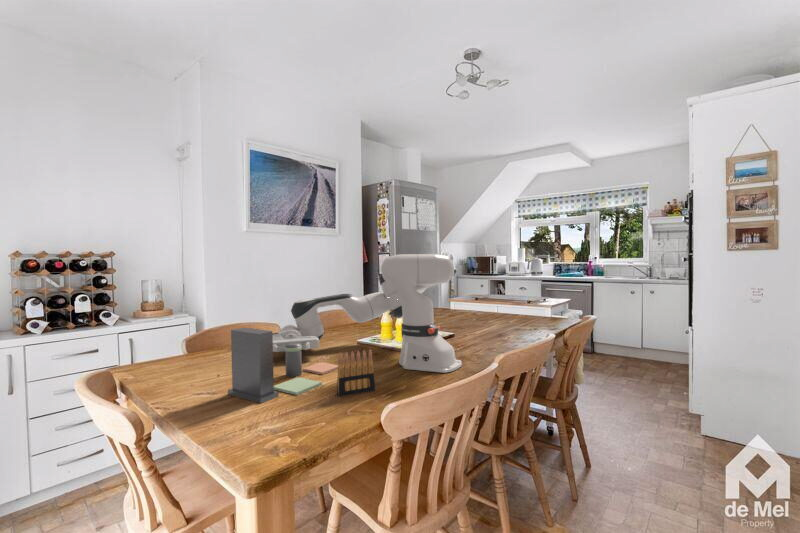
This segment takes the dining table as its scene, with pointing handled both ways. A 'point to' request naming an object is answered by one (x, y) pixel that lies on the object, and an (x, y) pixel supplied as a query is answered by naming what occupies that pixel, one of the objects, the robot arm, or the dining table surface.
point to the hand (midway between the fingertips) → (291, 348)
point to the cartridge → (293, 359)
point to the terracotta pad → (321, 368)
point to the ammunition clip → (355, 374)
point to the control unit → (252, 364)
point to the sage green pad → (297, 386)
